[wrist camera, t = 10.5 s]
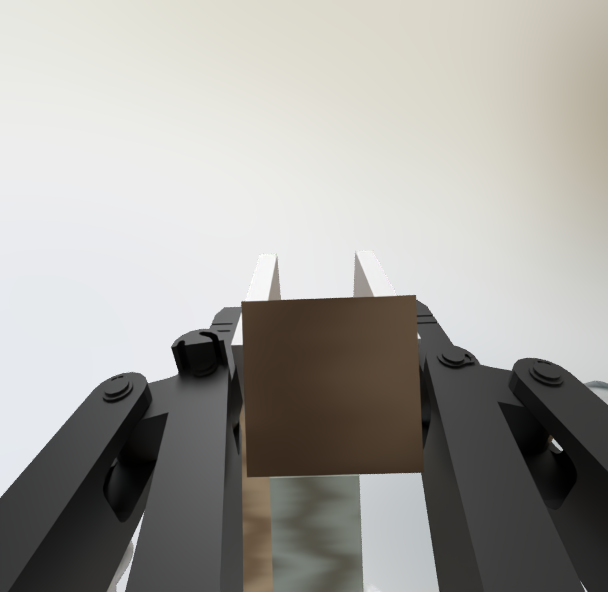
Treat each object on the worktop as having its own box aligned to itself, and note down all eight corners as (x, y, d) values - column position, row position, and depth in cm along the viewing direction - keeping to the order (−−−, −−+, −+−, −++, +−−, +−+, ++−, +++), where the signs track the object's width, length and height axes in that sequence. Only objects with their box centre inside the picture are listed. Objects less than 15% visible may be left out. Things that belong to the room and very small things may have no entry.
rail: (247, 477, 6) (241, 301, 6) (296, 339, 30) (294, 302, 30) (423, 472, 6) (416, 294, 6) (332, 338, 30) (331, 301, 30)
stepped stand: (201, 796, 24) (191, 403, 25) (232, 652, 34) (224, 374, 35) (370, 792, 24) (356, 398, 25) (351, 649, 34) (342, 370, 35)
